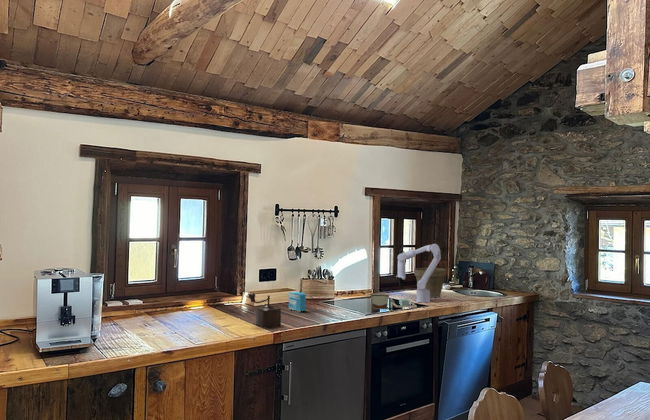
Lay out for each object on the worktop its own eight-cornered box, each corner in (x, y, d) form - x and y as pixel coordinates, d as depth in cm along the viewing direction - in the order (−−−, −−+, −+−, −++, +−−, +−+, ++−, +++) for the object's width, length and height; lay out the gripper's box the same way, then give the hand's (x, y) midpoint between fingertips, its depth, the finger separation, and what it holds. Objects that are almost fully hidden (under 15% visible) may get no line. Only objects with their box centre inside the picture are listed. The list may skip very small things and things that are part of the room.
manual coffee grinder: (271, 322, 270) (271, 290, 271) (281, 325, 261) (281, 293, 262) (246, 325, 261) (247, 292, 261) (256, 329, 252) (256, 295, 253)
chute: (407, 301, 350) (407, 299, 350) (416, 307, 323) (416, 305, 323) (388, 301, 348) (388, 299, 348) (396, 307, 322) (396, 305, 322)
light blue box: (288, 310, 308) (288, 291, 309) (293, 309, 311) (294, 291, 312) (300, 312, 300) (300, 293, 300) (305, 312, 303) (305, 293, 303)
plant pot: (413, 298, 364) (413, 269, 365) (414, 293, 388) (414, 267, 389) (446, 299, 358) (446, 270, 359) (445, 294, 383) (445, 267, 383)
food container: (388, 307, 321) (389, 292, 321) (389, 309, 315) (389, 294, 315) (370, 307, 322) (370, 292, 323) (370, 308, 316) (370, 293, 316)
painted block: (406, 304, 335) (406, 298, 336) (409, 306, 329) (409, 300, 329) (399, 304, 335) (399, 298, 335) (402, 306, 328) (402, 300, 328)
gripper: (394, 268, 358) (394, 286, 357) (398, 270, 343) (398, 289, 343) (403, 268, 358) (403, 286, 358) (408, 270, 344) (407, 289, 343)
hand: (401, 288), depth 350 cm, fingers closed
